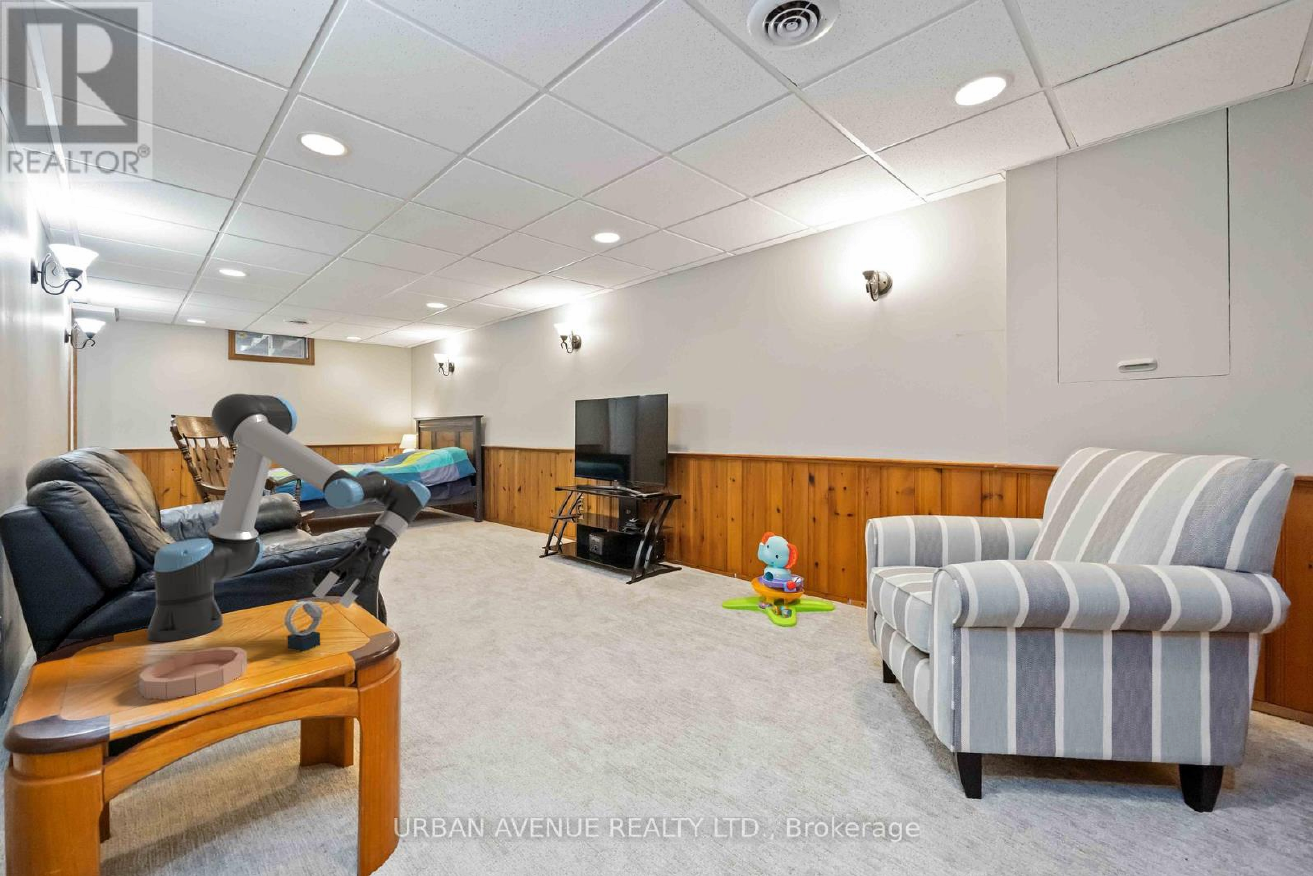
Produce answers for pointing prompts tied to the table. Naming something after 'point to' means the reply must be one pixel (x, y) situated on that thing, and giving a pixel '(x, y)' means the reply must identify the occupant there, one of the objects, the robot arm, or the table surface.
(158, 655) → the table surface
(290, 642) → the watch
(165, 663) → the dish
